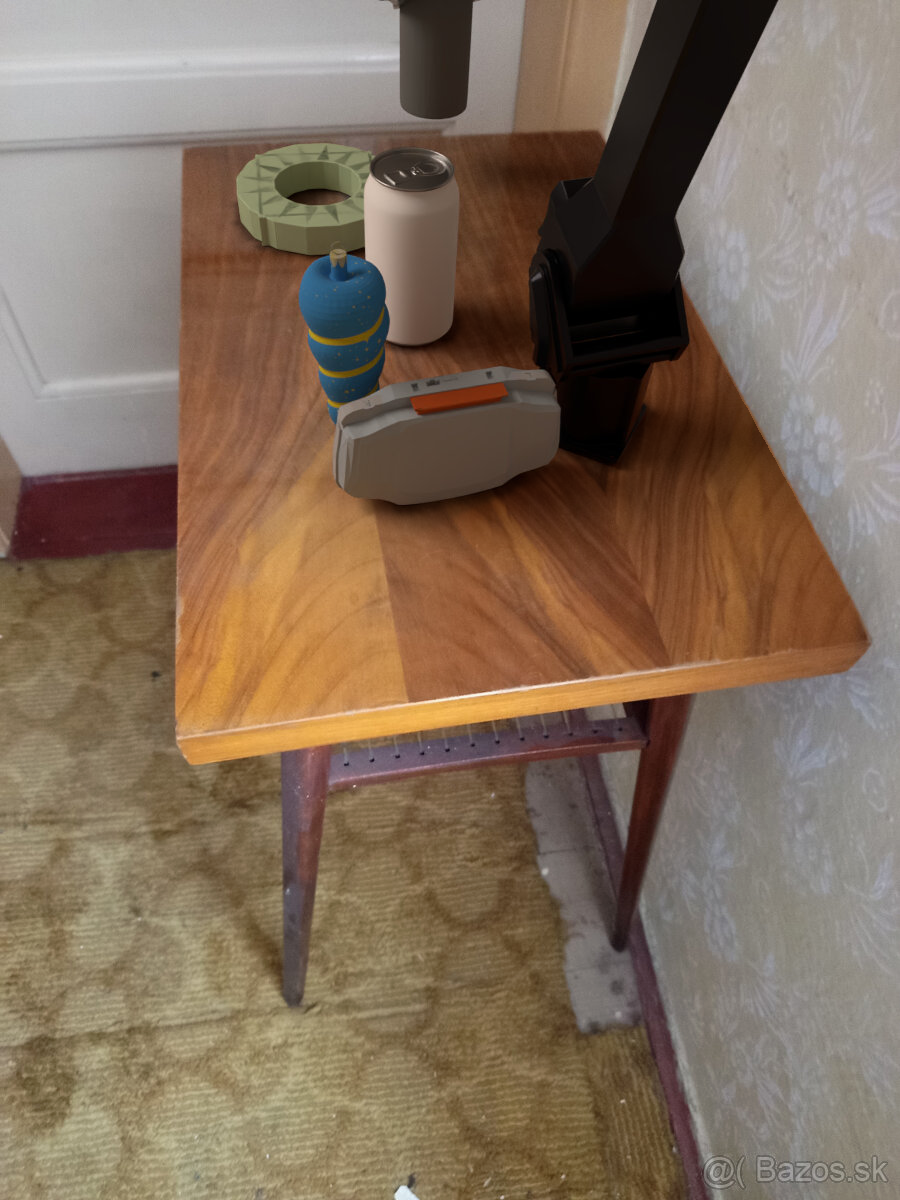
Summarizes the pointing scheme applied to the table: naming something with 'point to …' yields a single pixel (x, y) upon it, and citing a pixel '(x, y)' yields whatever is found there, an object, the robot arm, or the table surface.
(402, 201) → the can
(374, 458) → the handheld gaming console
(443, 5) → the bottle
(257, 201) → the holder
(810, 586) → the table surface
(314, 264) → the ornament
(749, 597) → the table surface
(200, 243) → the table surface
